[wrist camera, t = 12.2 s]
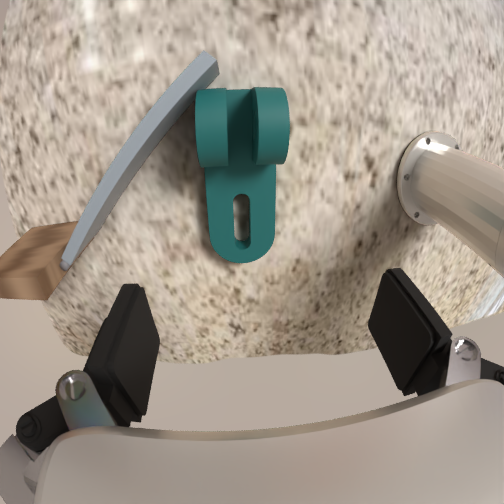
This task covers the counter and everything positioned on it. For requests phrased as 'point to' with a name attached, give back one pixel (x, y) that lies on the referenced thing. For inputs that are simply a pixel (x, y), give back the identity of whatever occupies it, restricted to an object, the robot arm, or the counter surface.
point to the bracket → (241, 163)
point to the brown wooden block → (35, 262)
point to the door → (139, 151)
